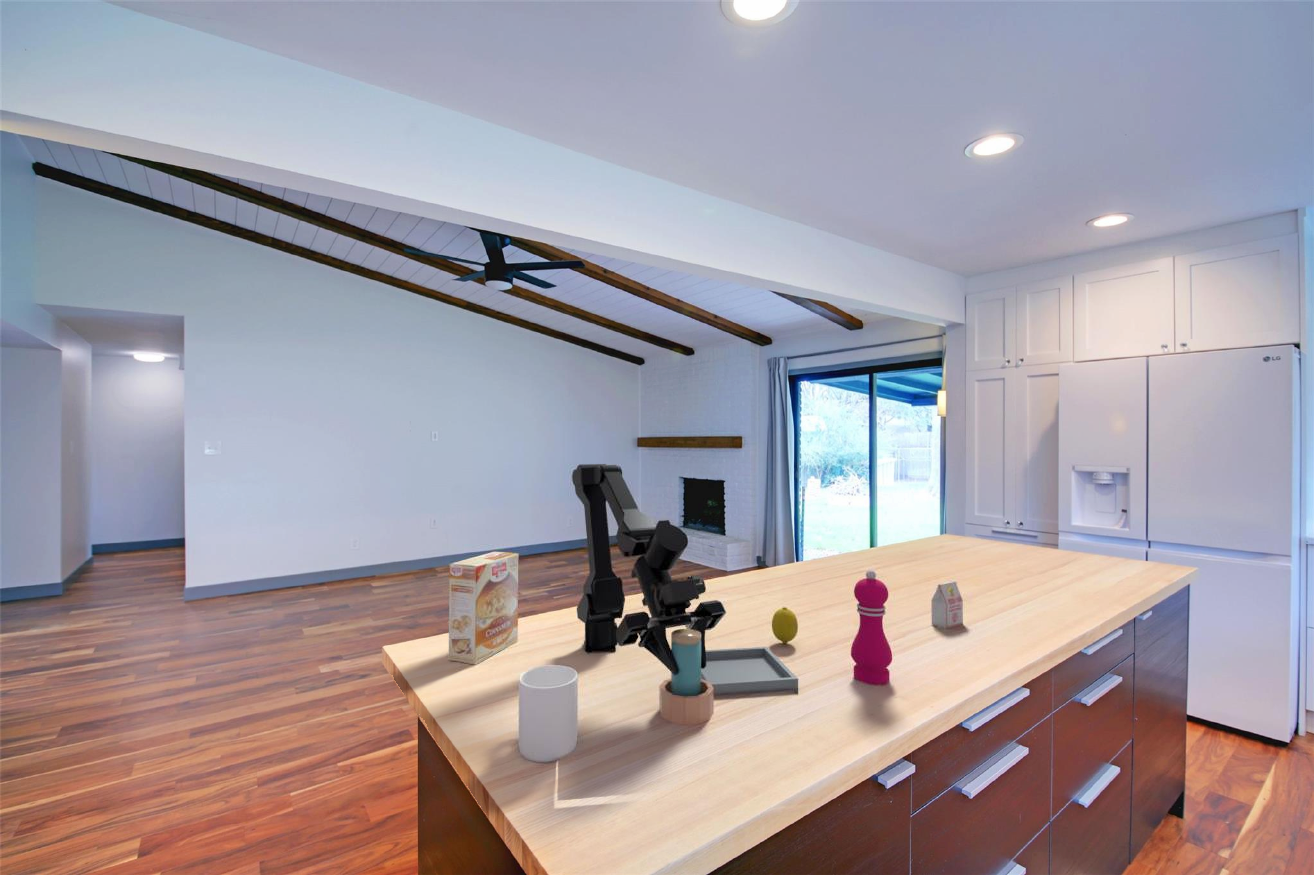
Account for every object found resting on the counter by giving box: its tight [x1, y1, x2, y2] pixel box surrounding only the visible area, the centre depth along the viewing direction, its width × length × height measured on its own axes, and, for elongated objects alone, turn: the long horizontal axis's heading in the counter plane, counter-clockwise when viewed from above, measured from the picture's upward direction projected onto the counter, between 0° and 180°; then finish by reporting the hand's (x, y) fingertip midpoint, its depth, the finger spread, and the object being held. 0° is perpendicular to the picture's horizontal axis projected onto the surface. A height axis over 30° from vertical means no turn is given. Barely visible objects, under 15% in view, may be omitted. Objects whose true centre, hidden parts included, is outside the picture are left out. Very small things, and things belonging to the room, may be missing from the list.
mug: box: [518, 664, 579, 764], centre depth 83 cm, size 12×8×10 cm
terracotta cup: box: [658, 678, 715, 726], centre depth 92 cm, size 8×8×4 cm
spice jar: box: [670, 628, 701, 697], centre depth 92 cm, size 5×5×12 cm
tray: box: [701, 646, 799, 697], centre depth 107 cm, size 16×16×2 cm
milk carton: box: [930, 580, 964, 629], centre depth 138 cm, size 4×7×10 cm, turn 121°
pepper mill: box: [850, 569, 893, 686], centre depth 106 cm, size 7×7×20 cm
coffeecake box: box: [448, 551, 520, 665], centre depth 121 cm, size 15×7×20 cm, turn 160°
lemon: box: [771, 606, 799, 645], centre depth 125 cm, size 6×6×8 cm
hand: (690, 670), depth 91 cm, fingers closed on spice jar, 5 cm apart
